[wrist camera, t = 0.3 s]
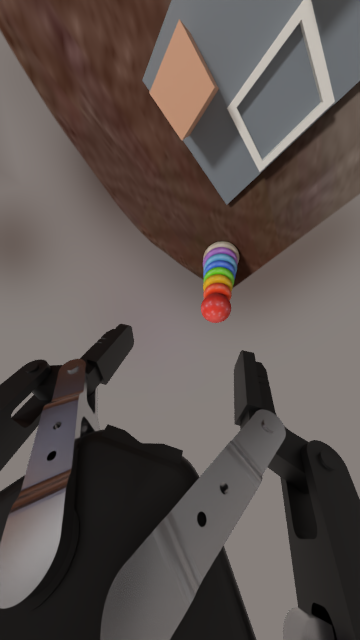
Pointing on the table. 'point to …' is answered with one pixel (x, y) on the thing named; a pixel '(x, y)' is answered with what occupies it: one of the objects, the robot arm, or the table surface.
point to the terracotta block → (183, 83)
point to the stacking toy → (218, 280)
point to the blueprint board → (263, 76)
